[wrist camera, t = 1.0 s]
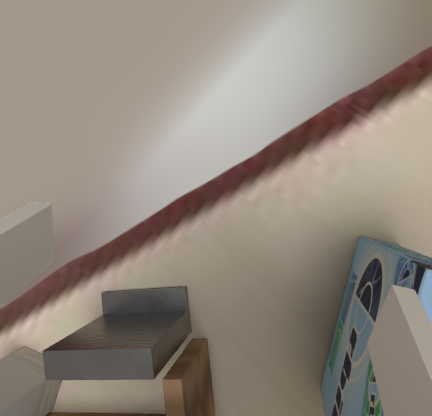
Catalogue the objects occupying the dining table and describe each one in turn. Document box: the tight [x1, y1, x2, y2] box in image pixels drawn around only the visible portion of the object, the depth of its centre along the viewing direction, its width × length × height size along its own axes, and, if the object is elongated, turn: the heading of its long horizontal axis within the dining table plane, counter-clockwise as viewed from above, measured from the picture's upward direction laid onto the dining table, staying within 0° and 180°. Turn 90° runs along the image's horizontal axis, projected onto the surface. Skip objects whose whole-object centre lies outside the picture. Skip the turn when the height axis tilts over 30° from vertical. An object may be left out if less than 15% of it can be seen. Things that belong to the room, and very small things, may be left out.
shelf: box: [46, 339, 215, 416], centre depth 44 cm, size 12×30×11 cm, turn 97°
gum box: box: [321, 237, 432, 416], centre depth 32 cm, size 20×5×23 cm, turn 167°
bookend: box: [43, 286, 191, 380], centre depth 42 cm, size 6×12×13 cm, turn 97°
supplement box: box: [0, 347, 61, 416], centre depth 46 cm, size 7×7×13 cm
